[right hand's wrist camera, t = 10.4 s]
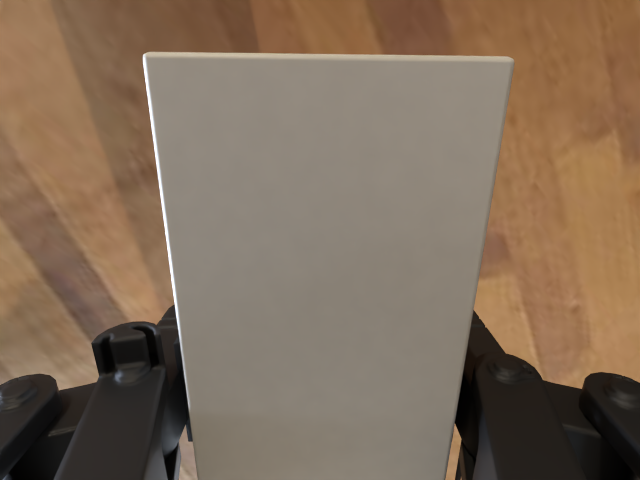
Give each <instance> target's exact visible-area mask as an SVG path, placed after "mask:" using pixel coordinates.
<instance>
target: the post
mask: <svg viewBox="0 0 640 480" xmlns="http://www.w3.org/2000/svg"><path fill="white" fill-rule="evenodd" d="M143 65H144V72H145V80H146V88H147V95H148V103H149V110H150V118H151V126H152V133H153V141H154V148H155V156H156V164H157V171H158V179H159V187H160V194H161V202H162V209H163V217H164V225H165V232H166V240H167V248H168V255H169V263H170V270H171V278H172V286H173V293H174V301H175V309H176V316H177V324H178V331H179V339H180V347H181V354H182V362H183V369H184V377H185V385H186V392H187V400H188V408H189V415H190V423H191V430H192V438H193V446H194V453H195V461H196V469H197V476H198V480H445V478H446V472H447V466H448V460H449V454H450V448H451V442H452V436H453V430H454V424H455V418H456V412H457V406H458V400H459V394H460V388H461V382H462V376H463V370H464V364H465V357H466V351H467V345H468V339H469V333H470V327H471V321H472V315H473V309H474V303H475V297H476V291H477V285H478V279H479V273H480V267H481V261H482V255H483V249H484V243H485V237H486V231H487V225H488V219H489V213H490V207H491V201H492V195H493V189H494V183H495V177H496V171H497V165H498V159H499V153H500V147H501V141H502V135H503V129H504V123H505V117H506V111H507V105H508V99H509V93H510V87H511V81H512V75H513V69H514V59H512V58H510V57H508V56H438V55H360V54H282V53H203V52H148V53H146V54H144V55H143Z"/></svg>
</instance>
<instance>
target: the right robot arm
mask: <svg viewBox="0 0 640 480" xmlns="http://www.w3.org/2000/svg"><path fill="white" fill-rule="evenodd" d="M91 344H92V348H93V352H94V356H95V361H96V365H97V369H98V373H99V378H98V381H97V382H95V383H92V384H88V385H83V386H79V387H74V388H69V389H64V390H60V391H59V390H58V386H57V383H56V380H55V379H54V378H53V377H51V376H50V375H44V374H34V375H26V376H22V377H19V378H15V379H12V380H9V381H8V382H6V383H4V384H2V385H0V480H178V479H179V470H180V461H181V453H180V446H179V439H180V436H181V434H182V432H183V429H184V427H185V424H186V429H187V435H188V441H193V438H192V430H191V423H190V415H189V408H188V400H187V392H186V385H185V377H184V369H183V362H182V354H181V347H180V339H179V331H178V324H177V316H176V309H175V305H173V306H172V307H170V308H169V309H168V310H167V312H166V313H165V314H164V316H163V317H162V320H160V321H159V323H158V324H157V325H155V324H153V323H149V322H130V323H125V324H120V325H118V326H115V327H113V328H110V329H108V330H106V331H105V332H103V333H101V334H100V335H98V336H97V337H96V338H95V339H94V341H93V342H92V343H91ZM455 424H456V427H457V429H458V431H459V434H460V436H461V439H462V440H461V446H460V452H459V458H458V464H457V470H456V477H455V480H460V479H461V478H462V480H640V383H639V382H637V381H634V380H633V379H631V378H628V377H625V376H622V375H618V374H613V373H604V372H599V373H592V374H590V375H589V376H587V377H586V378H585V381H584V384H583V387H582V389H579V388H574V387H569V386H565V385H560V384H555V383H551V382H547V381H544V380H542V378H541V376H540V374H539V373H538V372H537V370H536V369H535V368H534V367H533V366H532V365H530V364H529V363H527V362H526V361H525V360H522V359H520V358H518V357H516V356H513V355H509V354H506V353H505V352H504V351H503V349H502V348H501V346H500V345H499V344H498V342H497V341H496V340H495V338H494V337H493V336H492V334H491V333H490V332H489V330H488V329H487V328H485V325H484V323H483V322H482V321H481V319H479V317H478V315H477V314H476V312H475V311H474V310H473V315H472V321H471V327H470V333H469V339H468V345H467V351H466V357H465V364H464V370H463V376H462V382H461V388H460V394H459V400H458V406H457V412H456V418H455ZM453 431H454V430H453ZM452 437H453V436H452Z"/></svg>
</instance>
